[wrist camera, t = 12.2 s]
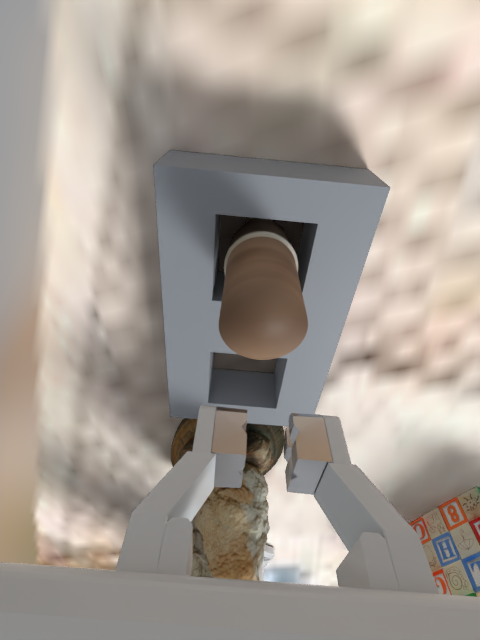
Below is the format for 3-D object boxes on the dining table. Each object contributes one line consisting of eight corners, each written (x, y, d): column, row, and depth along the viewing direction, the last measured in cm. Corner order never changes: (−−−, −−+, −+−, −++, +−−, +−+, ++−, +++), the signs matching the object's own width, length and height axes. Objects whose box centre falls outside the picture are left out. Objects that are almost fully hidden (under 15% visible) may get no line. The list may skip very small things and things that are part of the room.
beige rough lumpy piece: (251, 492, 44) (247, 682, 30) (162, 474, 42) (115, 667, 29) (305, 408, 34) (338, 641, 20) (190, 381, 32) (138, 614, 18)
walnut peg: (285, 268, 24) (301, 365, 16) (226, 263, 24) (213, 358, 16) (296, 210, 22) (321, 290, 14) (230, 204, 22) (217, 281, 14)
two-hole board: (304, 392, 32) (309, 428, 29) (178, 382, 32) (169, 416, 29) (368, 169, 20) (390, 187, 17) (169, 150, 20) (153, 164, 17)
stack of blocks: (396, 554, 54) (428, 662, 44) (365, 546, 53) (390, 655, 43) (512, 496, 42) (591, 626, 32) (476, 484, 41) (546, 615, 31)
